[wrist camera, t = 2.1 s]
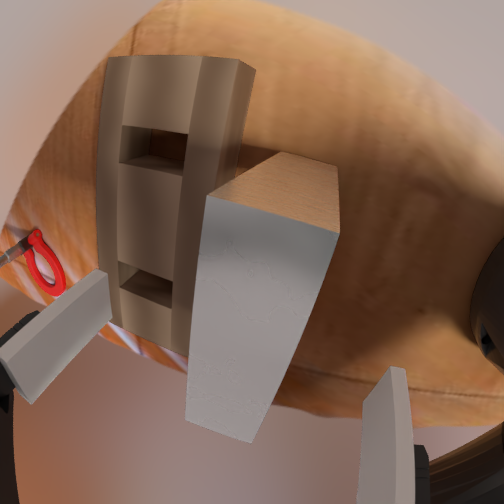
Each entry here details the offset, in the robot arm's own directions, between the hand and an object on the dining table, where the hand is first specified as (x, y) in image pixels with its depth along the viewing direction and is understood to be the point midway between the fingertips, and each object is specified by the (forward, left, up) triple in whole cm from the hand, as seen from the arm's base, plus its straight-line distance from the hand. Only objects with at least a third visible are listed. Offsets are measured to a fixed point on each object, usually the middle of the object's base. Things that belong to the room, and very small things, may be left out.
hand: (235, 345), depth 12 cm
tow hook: (+30, +13, -12) cm, 35 cm away
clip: (0, 0, -12) cm, 12 cm away
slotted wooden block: (+10, 0, -12) cm, 16 cm away
